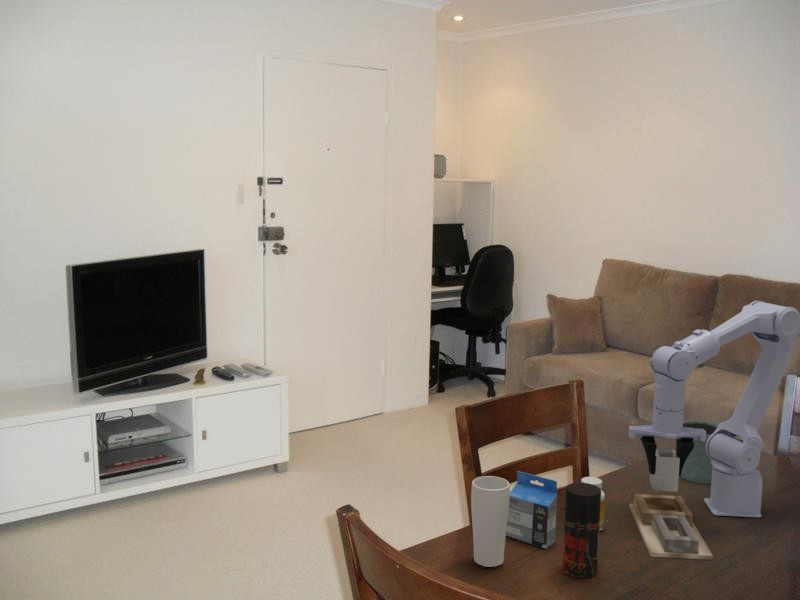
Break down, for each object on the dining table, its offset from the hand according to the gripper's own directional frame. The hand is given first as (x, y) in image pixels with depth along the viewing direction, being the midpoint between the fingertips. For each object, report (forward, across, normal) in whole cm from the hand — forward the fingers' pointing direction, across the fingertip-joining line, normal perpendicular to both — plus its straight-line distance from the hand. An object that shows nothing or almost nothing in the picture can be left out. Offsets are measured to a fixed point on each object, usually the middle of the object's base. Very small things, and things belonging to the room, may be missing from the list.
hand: (664, 473), depth 162 cm
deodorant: (+10, -19, -23) cm, 32 cm away
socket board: (+10, 0, -5) cm, 11 cm away
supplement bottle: (+10, -15, -5) cm, 19 cm away
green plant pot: (+10, +14, +25) cm, 30 cm away
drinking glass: (+10, -35, -22) cm, 43 cm away
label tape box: (+10, -27, -12) cm, 31 cm away
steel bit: (+3, 0, 0) cm, 3 cm away
